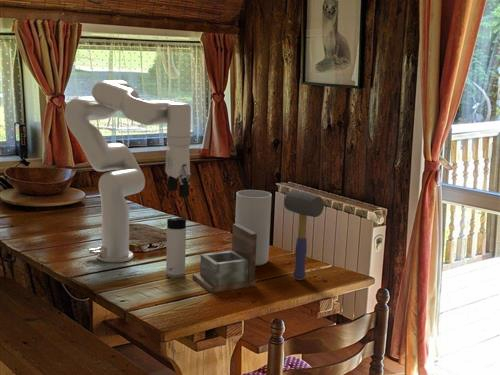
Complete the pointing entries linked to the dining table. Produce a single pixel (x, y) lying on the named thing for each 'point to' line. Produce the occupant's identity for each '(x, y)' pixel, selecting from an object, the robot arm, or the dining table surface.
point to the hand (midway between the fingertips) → (178, 193)
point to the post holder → (230, 263)
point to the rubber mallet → (302, 223)
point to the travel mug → (176, 247)
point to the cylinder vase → (255, 219)
